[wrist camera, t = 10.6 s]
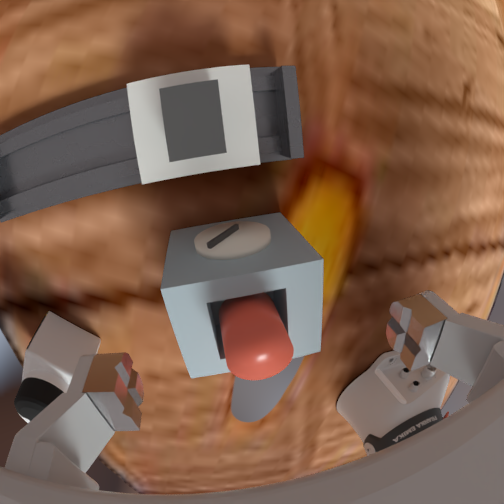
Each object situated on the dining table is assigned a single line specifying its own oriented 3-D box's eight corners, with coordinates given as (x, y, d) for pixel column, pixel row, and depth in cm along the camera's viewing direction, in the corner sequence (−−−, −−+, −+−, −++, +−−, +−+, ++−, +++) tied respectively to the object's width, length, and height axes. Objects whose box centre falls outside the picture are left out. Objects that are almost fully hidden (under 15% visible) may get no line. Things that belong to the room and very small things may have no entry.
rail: (277, 69, 21) (294, 59, 17) (286, 157, 25) (304, 164, 21) (-8, 142, 18) (-35, 148, 14) (8, 217, 21) (-16, 233, 17)
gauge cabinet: (279, 201, 26) (323, 244, 17) (284, 286, 30) (320, 351, 21) (168, 220, 25) (156, 274, 16) (188, 304, 29) (191, 378, 20)
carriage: (242, 72, 19) (262, 49, 13) (252, 159, 22) (276, 174, 16) (135, 89, 18) (110, 74, 12) (148, 177, 21) (129, 198, 15)
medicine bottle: (48, 308, 26) (7, 386, 15) (102, 337, 29) (79, 423, 18) (39, 346, 28) (7, 419, 17) (87, 371, 31) (68, 449, 20)
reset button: (273, 284, 20) (293, 325, 16) (276, 329, 21) (294, 371, 17) (213, 295, 19) (220, 339, 15) (223, 339, 21) (231, 385, 17)
